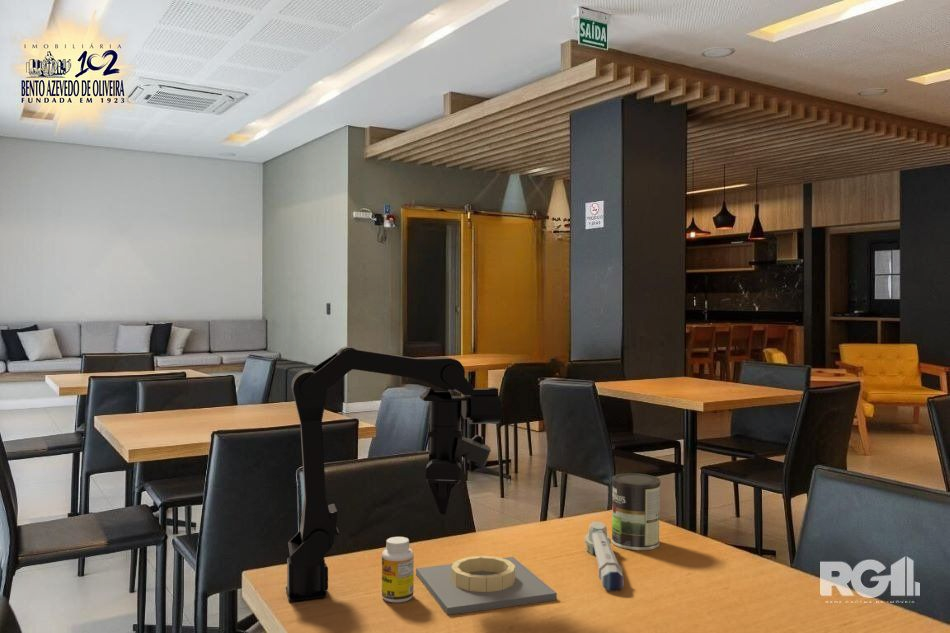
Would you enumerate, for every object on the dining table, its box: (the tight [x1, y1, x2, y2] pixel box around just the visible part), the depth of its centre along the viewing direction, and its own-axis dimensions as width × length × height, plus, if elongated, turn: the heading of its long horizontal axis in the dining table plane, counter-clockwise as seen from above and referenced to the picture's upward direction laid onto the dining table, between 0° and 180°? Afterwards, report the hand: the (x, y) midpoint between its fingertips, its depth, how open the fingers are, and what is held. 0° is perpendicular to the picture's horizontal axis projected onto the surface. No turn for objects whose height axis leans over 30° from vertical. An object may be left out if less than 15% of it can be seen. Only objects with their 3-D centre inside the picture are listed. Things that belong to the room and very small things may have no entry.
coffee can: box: [611, 472, 661, 552], centre depth 163 cm, size 10×10×14 cm
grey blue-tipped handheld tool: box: [584, 520, 625, 592], centre depth 148 cm, size 5×7×25 cm
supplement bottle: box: [381, 536, 415, 604], centre depth 132 cm, size 6×6×10 cm
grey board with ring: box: [415, 555, 558, 616], centre depth 138 cm, size 20×20×4 cm
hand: (443, 507), depth 141 cm, fingers open, 9 cm apart
